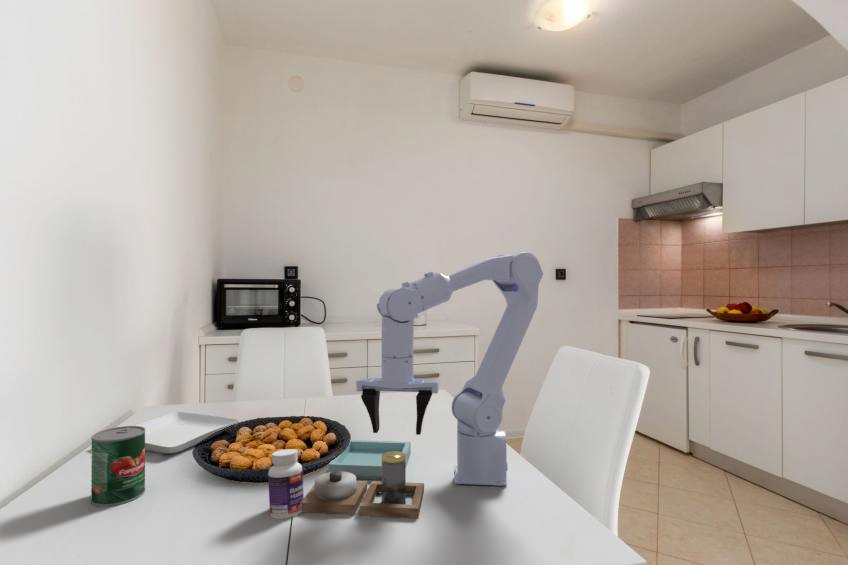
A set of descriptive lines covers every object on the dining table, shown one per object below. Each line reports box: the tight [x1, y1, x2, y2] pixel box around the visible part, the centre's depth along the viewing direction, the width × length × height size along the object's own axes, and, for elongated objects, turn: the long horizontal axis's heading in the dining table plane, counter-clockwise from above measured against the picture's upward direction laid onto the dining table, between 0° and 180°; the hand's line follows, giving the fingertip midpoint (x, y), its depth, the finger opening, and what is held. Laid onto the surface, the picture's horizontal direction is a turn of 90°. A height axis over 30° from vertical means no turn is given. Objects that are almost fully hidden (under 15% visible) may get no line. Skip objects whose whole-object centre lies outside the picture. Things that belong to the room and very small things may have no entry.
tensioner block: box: [302, 471, 425, 519], centre depth 79 cm, size 19×9×4 cm, turn 85°
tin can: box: [381, 451, 407, 504], centre depth 79 cm, size 4×4×8 cm
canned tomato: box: [90, 425, 146, 508], centre depth 81 cm, size 8×8×11 cm
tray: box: [328, 439, 412, 481], centre depth 95 cm, size 14×14×2 cm
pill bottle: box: [267, 448, 305, 520], centre depth 76 cm, size 5×5×10 cm
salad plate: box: [133, 411, 240, 454], centre depth 111 cm, size 21×21×3 cm
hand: (397, 432), depth 83 cm, fingers open, 7 cm apart
